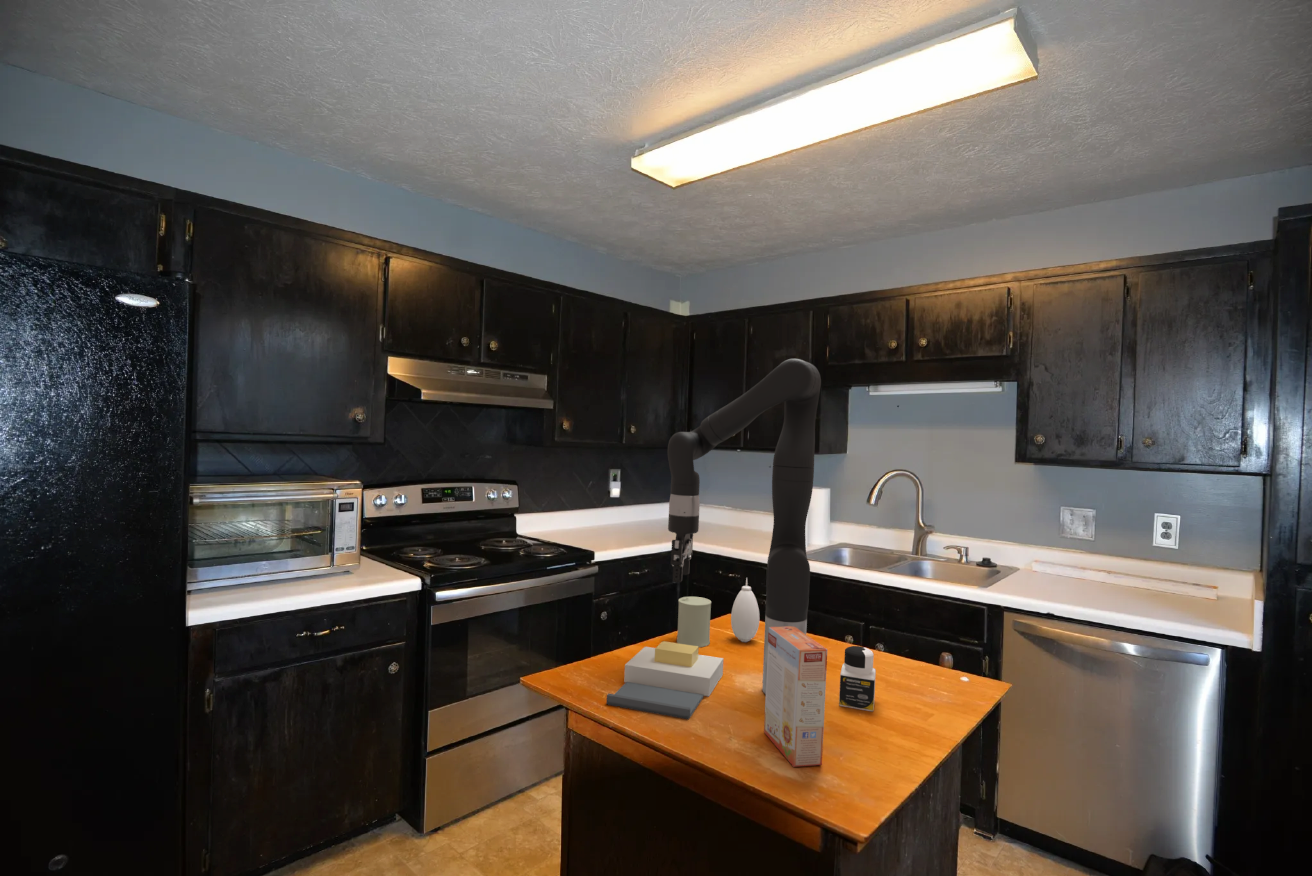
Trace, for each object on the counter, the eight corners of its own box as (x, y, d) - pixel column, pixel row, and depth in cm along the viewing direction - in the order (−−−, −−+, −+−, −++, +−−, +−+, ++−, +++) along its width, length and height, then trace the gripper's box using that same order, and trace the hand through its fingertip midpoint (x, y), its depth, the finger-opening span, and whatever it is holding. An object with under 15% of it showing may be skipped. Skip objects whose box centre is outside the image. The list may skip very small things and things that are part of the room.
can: (678, 635, 186) (680, 593, 186) (710, 638, 185) (712, 596, 184) (674, 645, 177) (676, 601, 177) (708, 648, 175) (710, 604, 175)
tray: (703, 697, 143) (703, 688, 143) (688, 719, 131) (689, 709, 131) (626, 684, 148) (627, 675, 148) (606, 704, 137) (606, 695, 137)
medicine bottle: (838, 706, 141) (841, 651, 141) (841, 694, 148) (843, 641, 148) (873, 712, 138) (875, 656, 138) (874, 699, 145) (876, 646, 145)
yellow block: (698, 658, 155) (698, 646, 155) (691, 667, 150) (692, 654, 150) (662, 653, 158) (662, 641, 158) (654, 661, 153) (655, 648, 153)
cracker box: (824, 766, 115) (829, 648, 114) (792, 769, 113) (797, 649, 113) (791, 730, 128) (796, 624, 128) (762, 732, 127) (767, 625, 127)
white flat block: (722, 674, 157) (723, 658, 157) (708, 696, 143) (709, 678, 143) (644, 662, 163) (645, 646, 163) (624, 682, 150) (624, 664, 150)
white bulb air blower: (751, 647, 178) (754, 581, 178) (725, 641, 182) (728, 577, 182) (762, 640, 185) (765, 577, 184) (737, 635, 188) (739, 573, 188)
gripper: (693, 517, 153) (690, 586, 153) (704, 510, 166) (701, 573, 167) (662, 515, 154) (659, 583, 155) (675, 508, 168) (672, 570, 169)
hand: (681, 578), depth 161 cm, fingers open, 8 cm apart
